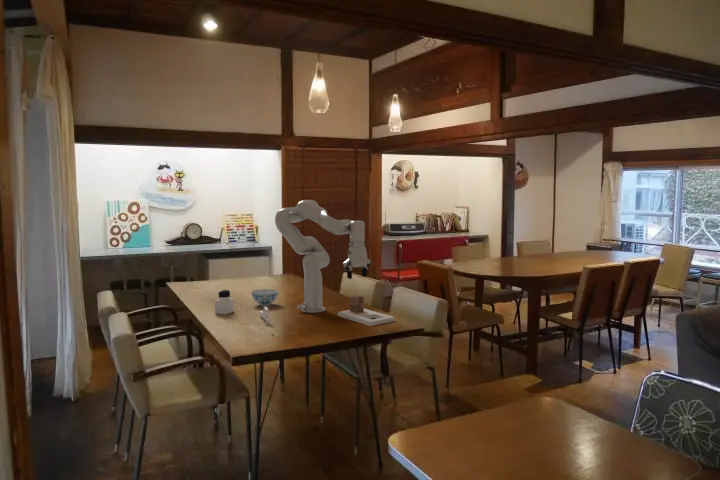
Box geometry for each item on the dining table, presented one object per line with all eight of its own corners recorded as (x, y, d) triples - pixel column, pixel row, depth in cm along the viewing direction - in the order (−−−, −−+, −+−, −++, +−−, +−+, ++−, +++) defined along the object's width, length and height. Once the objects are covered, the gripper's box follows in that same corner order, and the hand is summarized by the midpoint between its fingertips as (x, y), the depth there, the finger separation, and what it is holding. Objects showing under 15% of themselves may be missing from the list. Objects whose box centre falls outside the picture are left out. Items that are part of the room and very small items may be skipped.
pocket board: (370, 326, 258) (370, 321, 257) (337, 315, 278) (337, 311, 278) (394, 320, 268) (394, 316, 268) (361, 311, 288) (361, 307, 288)
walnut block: (356, 313, 274) (356, 297, 274) (350, 311, 278) (350, 296, 278) (363, 311, 278) (363, 296, 277) (357, 310, 281) (357, 295, 281)
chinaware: (272, 308, 294) (272, 294, 293) (247, 307, 297) (247, 293, 296) (282, 302, 308) (282, 289, 308) (257, 301, 311) (257, 288, 311)
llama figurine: (270, 336, 262) (262, 314, 277) (271, 317, 257) (263, 296, 272) (266, 336, 261) (258, 315, 276) (268, 317, 256) (260, 297, 271)
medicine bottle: (234, 311, 286) (233, 289, 285) (226, 314, 279) (226, 292, 278) (222, 310, 289) (222, 288, 287) (214, 313, 282) (214, 291, 281)
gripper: (348, 246, 266) (348, 280, 268) (374, 244, 277) (374, 276, 279) (339, 245, 272) (339, 278, 274) (365, 242, 283) (365, 274, 285)
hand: (356, 277), depth 276 cm, fingers open, 9 cm apart
